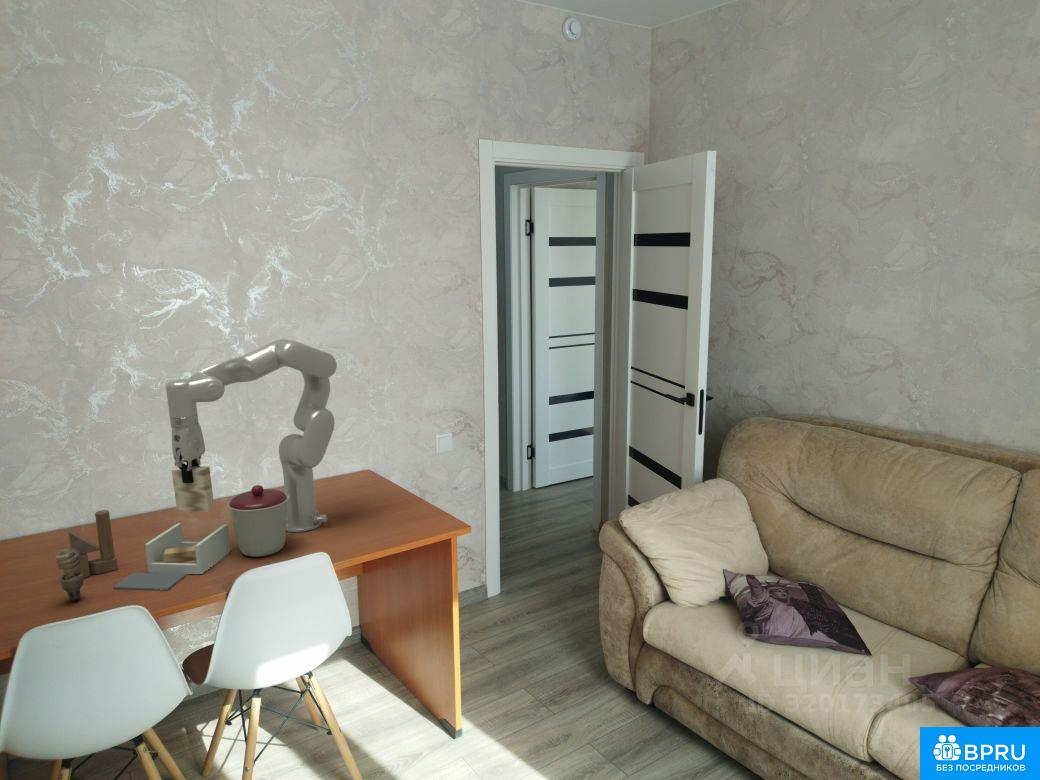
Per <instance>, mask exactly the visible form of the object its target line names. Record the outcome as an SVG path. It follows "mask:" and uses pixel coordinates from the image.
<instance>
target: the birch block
mask: <svg viewBox="0 0 1040 780" xmlns="http://www.w3.org/2000/svg"><path fill="white" fill-rule="evenodd" d="M190 470H192V473H193V480H194V482H193V483H183V481H182V474H181V471H180V468H179V467H177V466H175V467H174V468H173V469H171V474H172V475H171V476H172V483H173V490H174V498H175V504H176V505H175V506H176V512H210V511H212V510H213V509H214V508H215V502H214V501H215V500H214V493H213V486H212V485H213V484H212V477H211V469H210V465H209V466H201V465H200V466H197V467H191V469H190Z"/></svg>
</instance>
